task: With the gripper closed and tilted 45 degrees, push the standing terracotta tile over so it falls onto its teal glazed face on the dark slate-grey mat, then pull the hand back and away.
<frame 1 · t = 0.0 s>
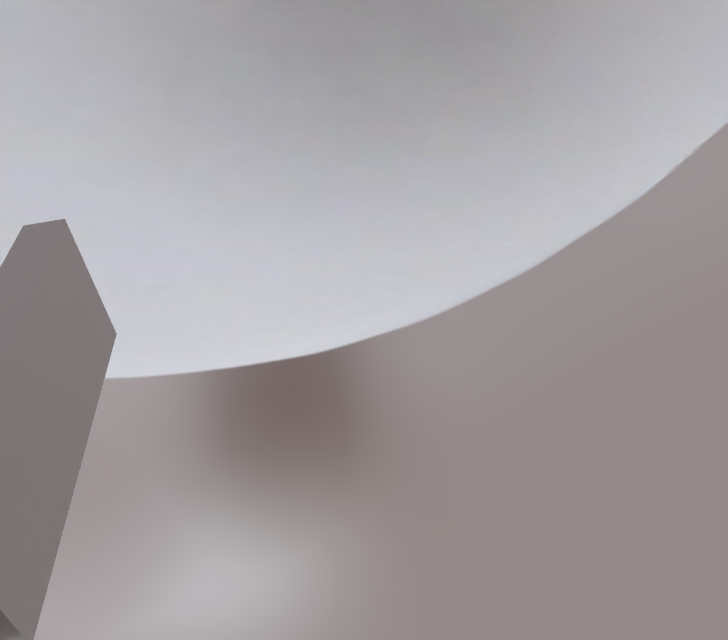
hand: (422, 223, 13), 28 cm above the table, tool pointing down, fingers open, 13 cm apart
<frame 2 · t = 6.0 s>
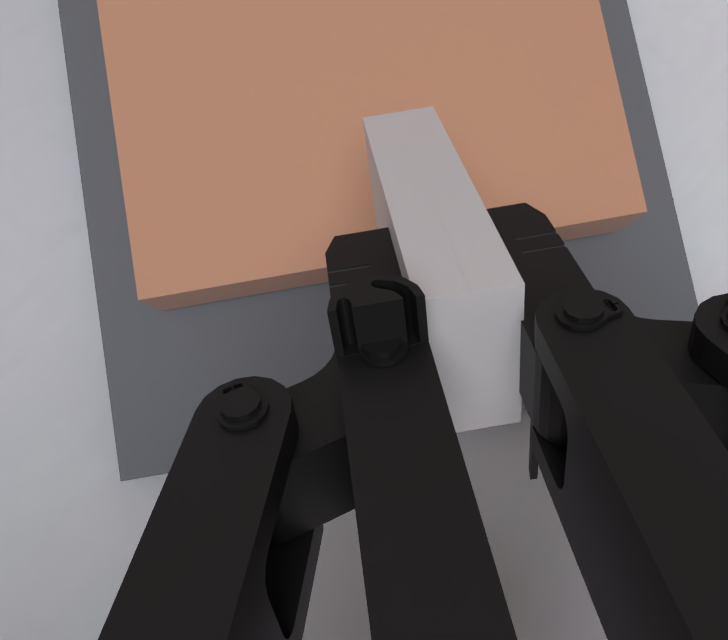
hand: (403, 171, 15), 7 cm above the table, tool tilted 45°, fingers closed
mat: (361, 122, 23), on the table
tile: (392, 264, 20), point 2 cm above the table, tilted 90°, touching mat
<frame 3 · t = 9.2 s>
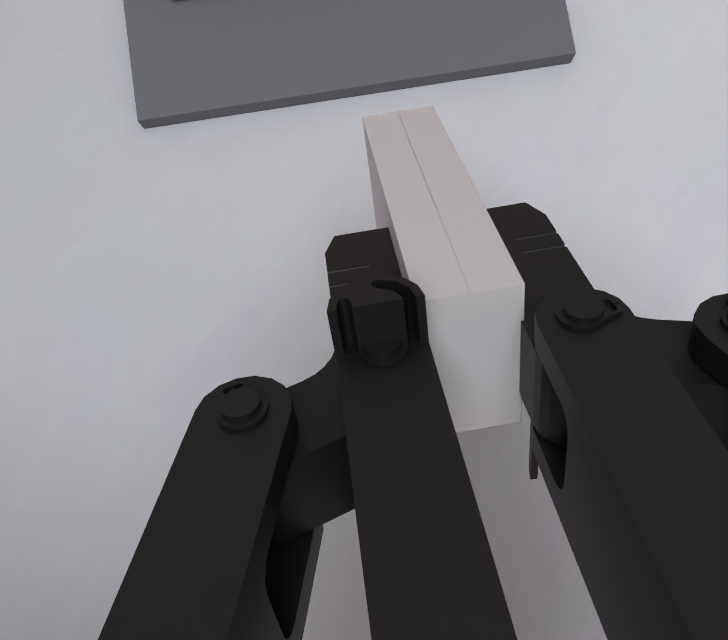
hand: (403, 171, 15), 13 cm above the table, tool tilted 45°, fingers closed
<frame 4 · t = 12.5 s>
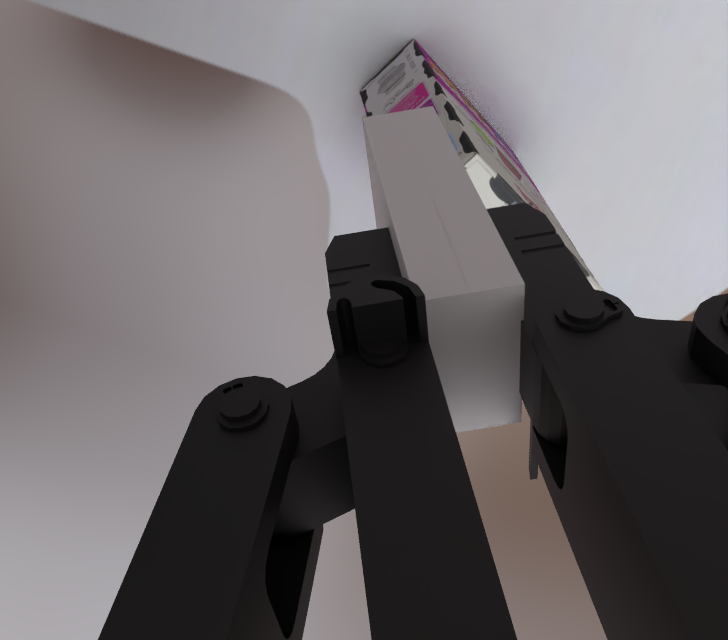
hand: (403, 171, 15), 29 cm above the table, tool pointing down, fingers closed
candy bar box: (438, 124, 46), on the table
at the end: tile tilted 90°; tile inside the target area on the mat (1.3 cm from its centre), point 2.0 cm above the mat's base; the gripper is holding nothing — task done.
